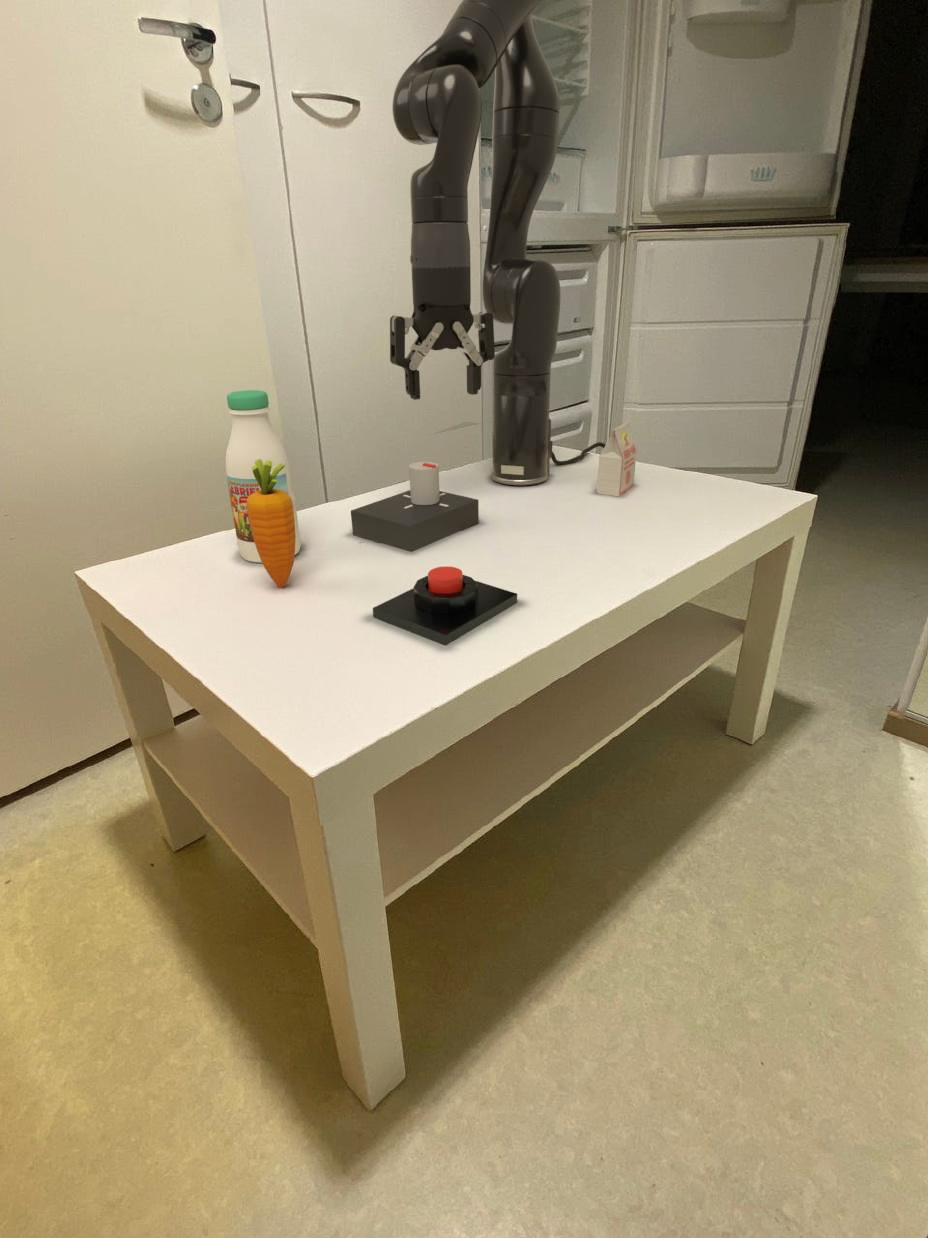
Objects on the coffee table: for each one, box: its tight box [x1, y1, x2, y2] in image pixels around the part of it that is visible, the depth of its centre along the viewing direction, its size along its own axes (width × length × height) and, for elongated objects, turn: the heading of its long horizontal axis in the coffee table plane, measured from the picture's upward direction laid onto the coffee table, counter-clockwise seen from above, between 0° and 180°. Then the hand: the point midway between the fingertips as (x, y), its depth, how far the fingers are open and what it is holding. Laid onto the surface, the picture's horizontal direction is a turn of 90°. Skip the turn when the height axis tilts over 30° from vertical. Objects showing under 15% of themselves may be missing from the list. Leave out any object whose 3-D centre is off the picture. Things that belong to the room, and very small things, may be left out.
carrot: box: [246, 459, 296, 589], centre depth 77 cm, size 5×5×15 cm
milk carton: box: [596, 422, 638, 497], centre depth 111 cm, size 4×7×10 cm, turn 149°
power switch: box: [372, 574, 518, 646], centre depth 74 cm, size 12×10×3 cm
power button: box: [427, 566, 464, 594], centre depth 73 cm, size 4×4×2 cm
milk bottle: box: [225, 389, 301, 564], centre depth 86 cm, size 8×8×20 cm
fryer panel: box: [350, 489, 480, 553], centre depth 97 cm, size 14×11×4 cm
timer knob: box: [408, 461, 440, 505], centre depth 96 cm, size 4×4×5 cm
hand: (444, 396), depth 97 cm, fingers open, 8 cm apart
